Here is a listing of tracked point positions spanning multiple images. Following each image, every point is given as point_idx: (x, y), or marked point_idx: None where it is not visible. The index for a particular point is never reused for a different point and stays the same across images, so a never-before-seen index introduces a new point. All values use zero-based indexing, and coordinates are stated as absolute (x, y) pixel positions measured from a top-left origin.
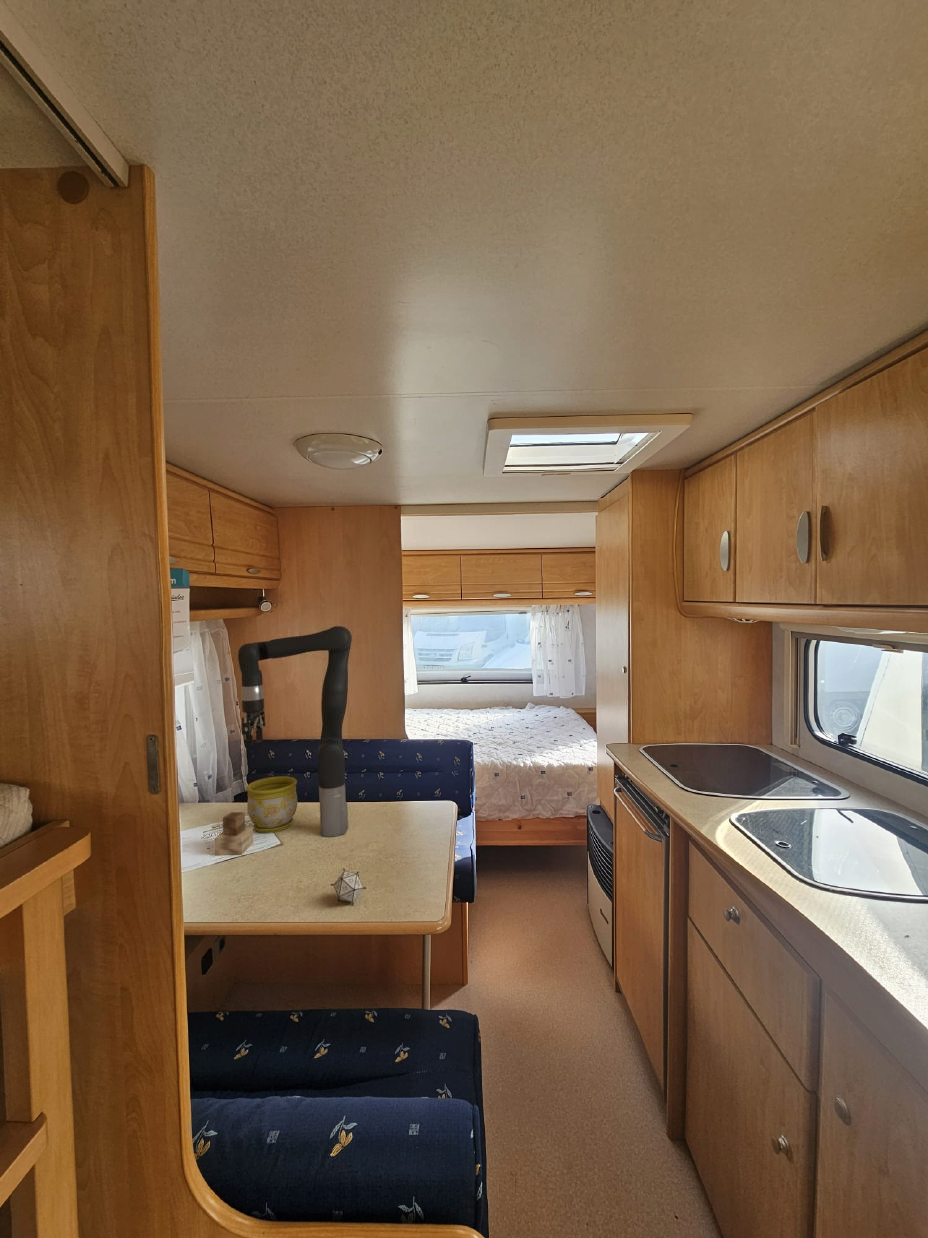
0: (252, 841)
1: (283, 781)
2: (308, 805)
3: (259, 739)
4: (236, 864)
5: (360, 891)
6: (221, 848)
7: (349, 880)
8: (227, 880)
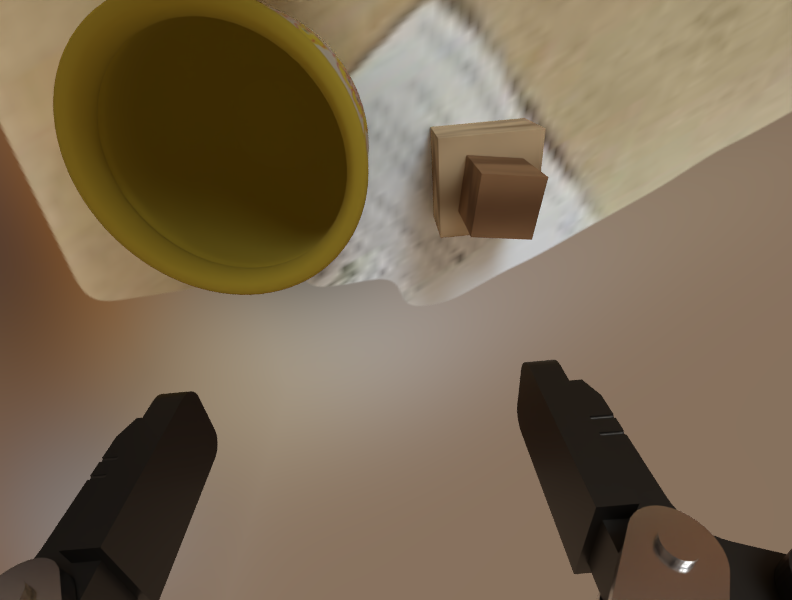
0: (438, 128)
1: (98, 148)
2: (11, 70)
3: (201, 420)
4: (596, 96)
5: None
6: None
7: None
8: (713, 60)
